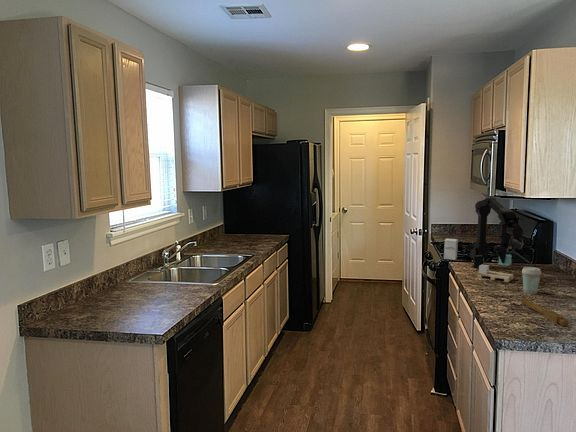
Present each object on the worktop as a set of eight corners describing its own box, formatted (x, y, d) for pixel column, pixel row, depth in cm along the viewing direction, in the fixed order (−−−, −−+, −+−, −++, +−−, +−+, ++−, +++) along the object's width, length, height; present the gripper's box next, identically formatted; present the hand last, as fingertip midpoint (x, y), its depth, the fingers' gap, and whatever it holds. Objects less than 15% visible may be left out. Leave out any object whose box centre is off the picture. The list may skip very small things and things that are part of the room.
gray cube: (481, 271, 264) (481, 264, 263) (488, 272, 261) (489, 265, 261) (478, 272, 261) (479, 265, 260) (486, 274, 258) (486, 266, 258)
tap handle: (527, 297, 215) (569, 320, 186) (526, 304, 216) (569, 327, 186) (520, 297, 215) (562, 320, 185) (520, 304, 215) (561, 328, 186)
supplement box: (443, 259, 307) (444, 239, 305) (445, 256, 313) (446, 238, 312) (455, 260, 303) (456, 240, 302) (457, 258, 310) (458, 238, 308)
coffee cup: (528, 295, 227) (529, 271, 226) (516, 290, 236) (518, 267, 234) (544, 294, 228) (545, 270, 227) (532, 289, 237) (533, 266, 235)
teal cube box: (501, 262, 261) (501, 253, 260) (511, 264, 258) (511, 255, 257) (498, 264, 257) (498, 255, 256) (508, 265, 254) (508, 256, 253)
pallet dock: (482, 274, 268) (483, 269, 268) (513, 278, 258) (513, 274, 257) (477, 277, 261) (477, 272, 261) (508, 282, 251) (508, 277, 251)
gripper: (517, 238, 243) (515, 267, 245) (527, 233, 257) (525, 261, 259) (494, 235, 250) (493, 264, 252) (505, 231, 264) (504, 258, 266)
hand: (504, 262), depth 257 cm, fingers closed on teal cube box, 5 cm apart
